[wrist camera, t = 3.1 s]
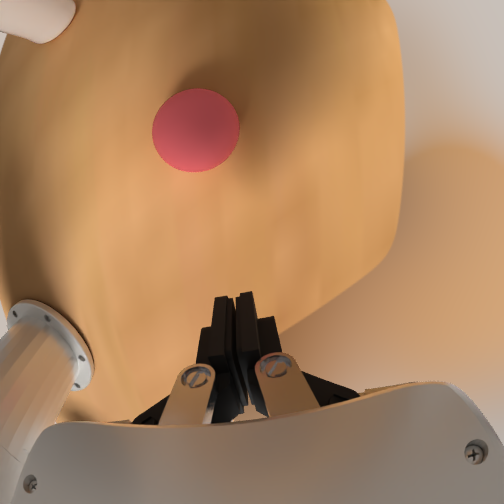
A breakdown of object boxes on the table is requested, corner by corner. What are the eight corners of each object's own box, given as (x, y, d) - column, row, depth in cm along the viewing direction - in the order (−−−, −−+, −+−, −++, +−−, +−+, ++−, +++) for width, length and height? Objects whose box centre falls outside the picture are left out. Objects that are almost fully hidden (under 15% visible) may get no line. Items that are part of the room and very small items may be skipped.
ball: (214, 183, 20) (209, 192, 14) (150, 151, 18) (124, 149, 13) (251, 119, 18) (260, 105, 13) (187, 87, 17) (173, 64, 12)
